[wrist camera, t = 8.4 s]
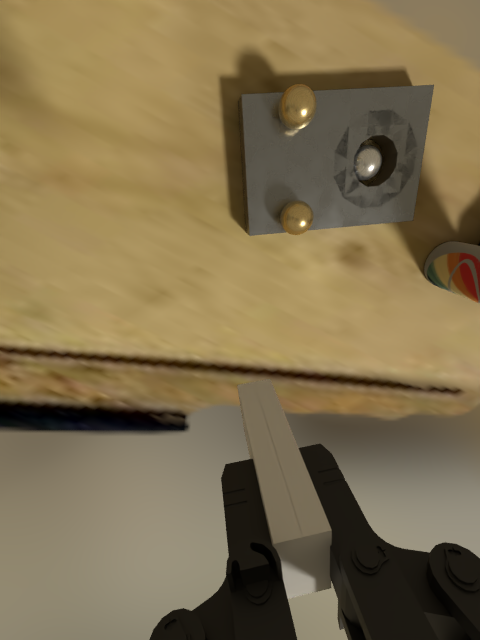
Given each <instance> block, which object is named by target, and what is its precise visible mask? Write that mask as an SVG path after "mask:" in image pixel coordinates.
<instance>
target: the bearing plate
mask: <svg viewBox="0 0 480 640" xmlns="http://www.w3.org/2000/svg"><path fill="white" fill-rule="evenodd" d="M433 88H434V85H422V86H402V87H381V88H361V89H340V90H320V91H313V92H314V94H315V97H316V102H317V107H316V112H315V115H314V117H313V119H312V121H311V122H310V123H309V124H308V125H307V126H306V127H304V128H302V129H299V130H293V129H289V128H287V127H286V126H285V125H284V124H283V123H282V121H281V119H280V116H279V102H280V99H281V97H282V95H283V93H284V92H279V93H259V94H242V95H241V97H240V99H239V101H238V109H239V125H240V142H241V158H242V175H243V191H244V208H245V224H246V233H247V234H248V235H249V236H252V235H262V234H273V233H284V232H286V231H285V230H284V229H283V227H282V225H281V222H280V216H281V212H282V210H283V208H284V207H285V206H286V205H287V204H288V203H290V202H292V201H297V200H299V201H304V202H306V203H307V204H308V205H309V206H310V207H311V208H312V211H313V216H314V218H313V223H312V225H311V227H310V228H309V229H308V230H316V229H327V228H338V227H349V226H360V225H370V224H381V223H392V222H403V221H413V217H414V210H415V204H416V198H417V191H418V185H419V178H420V172H421V166H422V159H423V153H424V146H425V140H426V133H427V127H428V121H429V114H430V108H431V101H432V95H433ZM367 139H371V140H373V141H374V142H376V143H377V144H379V145H380V148H381V151H382V153H383V165H382V169H381V171H380V173H379V175H378V176H377V178H376V180H374V181H373V182H371V183H370V184H369V185H367V186H365V185H364V184H362V183H360V182H359V181H358V180H357V177H356V175H355V173H354V170H353V168H354V156H355V154H356V152H357V150H358V149H359V147H360V145H361V143H363V142H364V141H365V140H367Z"/></svg>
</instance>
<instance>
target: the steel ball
mask: <svg viewBox="0 0 480 640" xmlns="http://www.w3.org/2000/svg"><path fill="white" fill-rule="evenodd" d="M381 164H382V155H381V153H380V151H379V150H378V149H377V148H376V147H375V146H372V145H364V146H361V147H359V149H358V150H357V152H356V154H355V156H354V168H353V170H354V173H355V175H356V177H357V180H368V179H370V178H372V177H373V176H374V175H376V173H377V172H378V171H379V169H380V167H381Z"/></svg>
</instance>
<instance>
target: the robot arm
mask: <svg viewBox="0 0 480 640" xmlns="http://www.w3.org/2000/svg"><path fill="white" fill-rule="evenodd" d="M237 386H238V393H239V399H240V406H241V412H242V418H243V425H244V432H245V436H246V441H247V445H248V450H249V455H250V459H249V460H244V461H239V462H234V463H230V464H226V465H225V468H224V471H223V475H222V477H221V481H222V491H223V501H224V510H225V521H226V531H227V542H228V551H229V558H228V560H227V568H226V569H227V570H226V578H225V580H224V582H223V584H222V586H221V587H220V588H219V590H218V591H217V592H216V593H215V594H214V595H213V596H212V597H211V598H209V599H208V600H206V601H205V602H204V603H202V604H201V605H200V606H198V607H197V608H195V609H194V610H192V611H189V610H187V609H184V608H183V609H178V610H173V611H172V612H170V613H169V614H167V615H166V616H164V617H163V618H162V619H161V621H160V622H159V623H158V625H157V626H156V627H155V628H154V630H153V633H152V635H151V637H150V640H297V637H296V633H295V628H294V624H293V620H292V616H291V611H290V607H289V603H288V599H290V598H294V597H297V596H301V595H305V594H309V593H313V592H317V591H321V590H325V589H329V588H331V581H332V583H333V586H334V589H335V592H336V594H337V597H338V622H339V628H340V630H341V629H345V631H346V634H347V637H348V640H480V558H478V557H477V556H476V555H475V554H473V553H472V552H471V551H470V550H468V549H466V548H463V547H461V546H459V545H457V544H452V543H441V544H438V545H436V546H435V547H434V548H433V549H432V550H431V552H430V553H428V552H422V551H415V550H408V549H402V548H398V547H395V546H393V545H391V544H389V543H387V542H385V541H384V540H383V539H381V538H380V537H378V535H377V534H376V533H375V532H374V531H373V530H372V528H371V527H370V525H369V524H368V522H367V520H366V518H365V516H364V514H363V513H362V511H361V509H360V507H359V505H358V503H357V501H356V500H355V497H354V495H353V494H352V492H351V490H350V488H349V486H348V484H347V482H346V481H345V478H344V476H343V474H342V472H341V470H339V467H338V465H337V463H336V461H335V459H334V457H333V455H332V454H331V453H330V452H329V451H328V450H327V449H326V448H325V447H324V446H323V445H321V444H316V445H311V446H307V447H302V448H298V446H297V444H296V441H295V439H294V436H293V434H292V431H291V429H290V426H289V424H288V422H287V419H286V417H285V414H284V412H283V409H282V407H281V404H280V402H279V399H278V397H277V394H276V392H275V389H274V387H273V385H272V382H271V380H270V379H267V380H262V381H256V382H251V383H246V384H240V385H237Z"/></svg>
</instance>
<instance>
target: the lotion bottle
mask: <svg viewBox="0 0 480 640" xmlns="http://www.w3.org/2000/svg"><path fill="white" fill-rule="evenodd" d="M424 272H425V276H426V278H427V280H428V281H429V282H430V283H432V284H434V285H436V286H438V287H440V288H442V289H445V290H447V291H450V292H452V293H455V294H457V295H460V296H462V297H465V298H467V299H470V300H472V301H475V302H477V303H480V246H478V245H473V244H467V243H462V242H454V241H452V242H446V243H443V244H441V245H439V246H438V247H436V248H435V249H434V250H433V251H432V252H431V253H430V255H429V256H428V258H427V260H426V263H425V267H424Z"/></svg>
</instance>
